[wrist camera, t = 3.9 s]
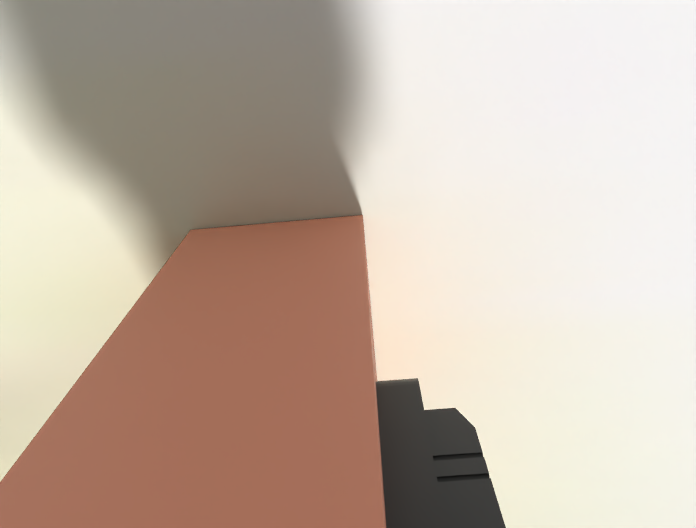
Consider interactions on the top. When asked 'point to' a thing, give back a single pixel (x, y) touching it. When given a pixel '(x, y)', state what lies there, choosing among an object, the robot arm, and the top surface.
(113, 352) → the pink rectangular block
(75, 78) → the top surface
